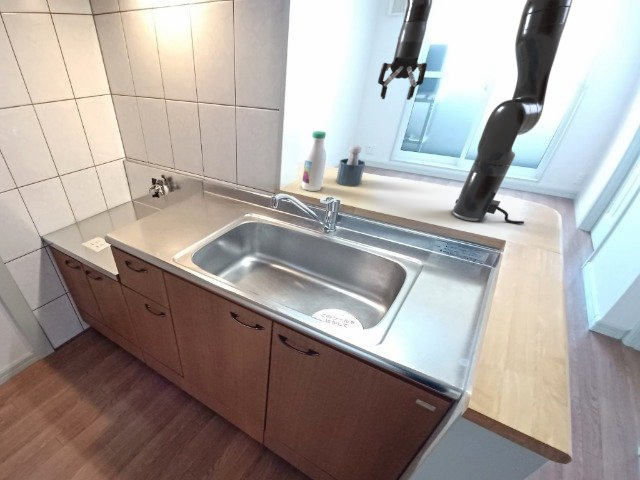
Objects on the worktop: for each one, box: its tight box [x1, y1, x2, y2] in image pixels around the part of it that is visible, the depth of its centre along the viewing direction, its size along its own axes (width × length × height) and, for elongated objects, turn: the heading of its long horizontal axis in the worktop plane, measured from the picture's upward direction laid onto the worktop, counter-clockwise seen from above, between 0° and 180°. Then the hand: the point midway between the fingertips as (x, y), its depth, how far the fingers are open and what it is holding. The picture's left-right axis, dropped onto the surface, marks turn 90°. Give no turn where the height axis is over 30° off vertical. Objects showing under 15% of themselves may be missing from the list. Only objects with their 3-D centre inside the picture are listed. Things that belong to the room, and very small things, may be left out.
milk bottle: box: [301, 130, 327, 192], centre depth 121 cm, size 8×8×20 cm
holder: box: [336, 158, 366, 187], centre depth 130 cm, size 10×10×8 cm
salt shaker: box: [347, 145, 362, 165], centre depth 128 cm, size 6×6×13 cm
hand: (395, 99), depth 114 cm, fingers open, 8 cm apart
